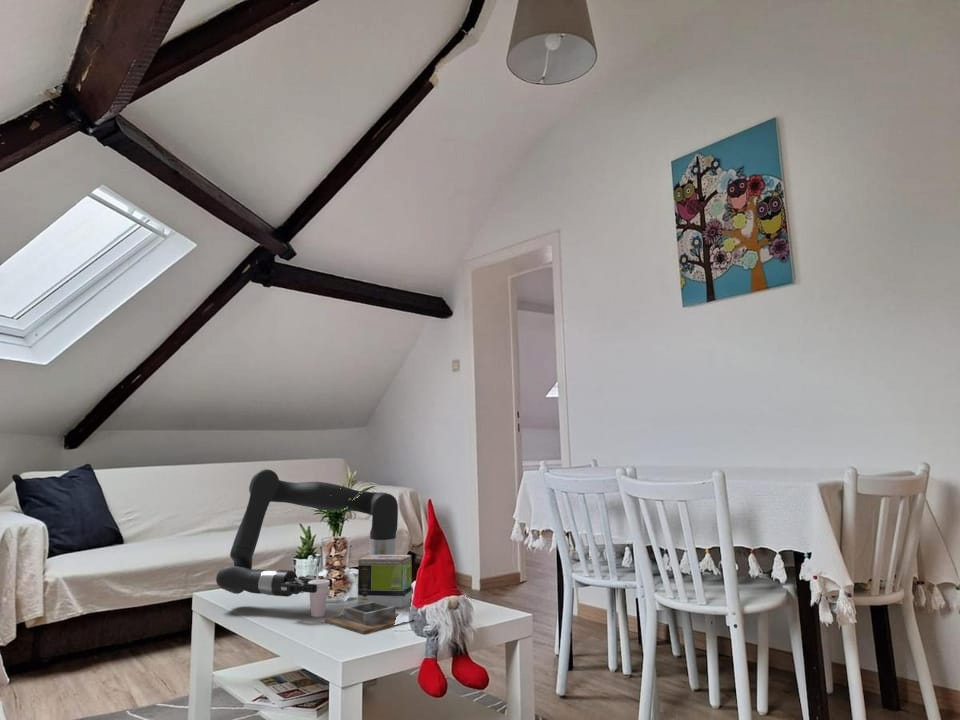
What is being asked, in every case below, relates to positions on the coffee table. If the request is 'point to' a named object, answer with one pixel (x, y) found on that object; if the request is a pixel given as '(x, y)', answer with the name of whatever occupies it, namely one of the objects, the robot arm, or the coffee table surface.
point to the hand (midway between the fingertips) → (324, 585)
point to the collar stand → (365, 617)
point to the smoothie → (319, 596)
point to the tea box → (385, 579)
